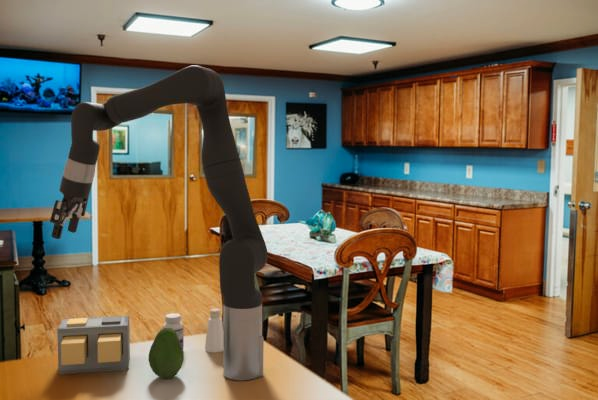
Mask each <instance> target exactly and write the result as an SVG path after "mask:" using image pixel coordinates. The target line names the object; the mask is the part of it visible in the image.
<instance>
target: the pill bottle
mask: <svg viewBox="0 0 598 400" xmlns="http://www.w3.org/2000/svg"><path fill="white" fill-rule="evenodd" d="M164 318H165V319H164V320H165V322H164V323H163V325H162V329H164V328H170V327H171V328H172V329H173V330H174V331H175V332H176V334H177V336H178V339H179V341H180V344H181V346H182V349H183V350H184V347H185V345H184V323H183V322H181V320H182V317H181V314H180V313H176V312H175V313H174V312H173V313H172V312H171V313H167V314H166V315H165V317H164Z"/></svg>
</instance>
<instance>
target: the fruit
mask: <svg viewBox="0 0 598 400" xmlns="http://www.w3.org/2000/svg"><path fill="white" fill-rule="evenodd" d="M149 349H150V350H149V352H148V363H149V366H150V369H151V370H152V372H153V373H154V374H155V375H156V376H157V377H159V378H160V379H164V380H171V379H173V378H174V377H176V376H177V375H178V373H179V371H180V370H181V369H182V366H183V363H184V348H183V349H182V346H181V344H180V341H179V339H178V336H177V334H176V332H175V331H174V330H173V329H172V328H171V327H170V328H164V329H163V328H162V329H160V331H159V332H158V333H157V334H156V336H155V338H154V340H153V342H152V344H151V345H150V348H149Z"/></svg>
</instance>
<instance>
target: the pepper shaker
mask: <svg viewBox="0 0 598 400" xmlns="http://www.w3.org/2000/svg"><path fill="white" fill-rule="evenodd" d="M209 315H210V316H209V318H208V319H207V327H206V336H205V344H204V345H205V346H204V350H205V351H206V352H208V353H212V354H214V353H215V354H216V353H221V352H222V353H223V319H222V318H221V309H220V308H215V307H214V308H211V309H209Z"/></svg>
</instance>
